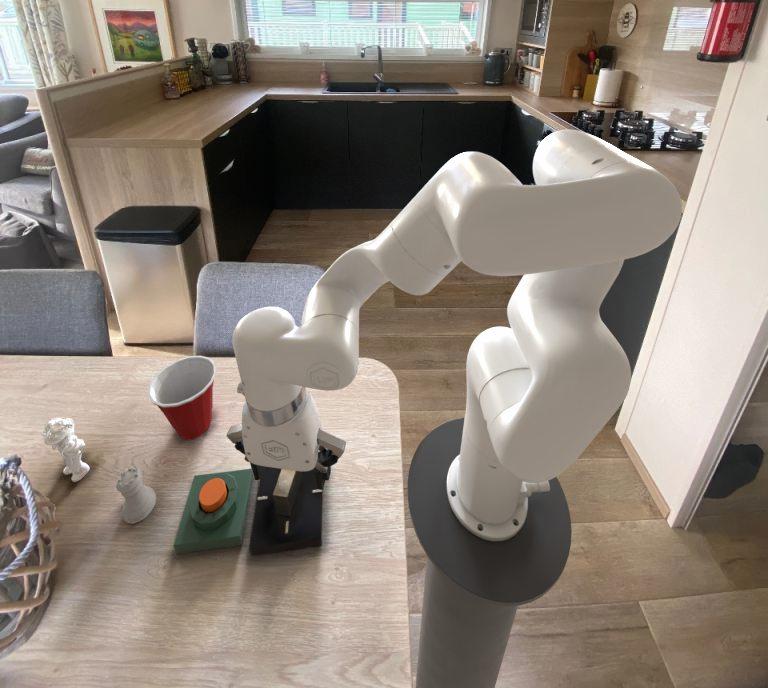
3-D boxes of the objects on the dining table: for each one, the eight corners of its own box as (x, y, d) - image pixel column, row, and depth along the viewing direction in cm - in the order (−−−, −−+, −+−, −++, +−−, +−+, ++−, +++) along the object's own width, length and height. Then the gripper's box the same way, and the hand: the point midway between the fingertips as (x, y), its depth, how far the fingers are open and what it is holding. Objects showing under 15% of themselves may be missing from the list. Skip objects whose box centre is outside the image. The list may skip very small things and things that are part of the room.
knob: (290, 517, 57) (287, 495, 55) (276, 514, 58) (272, 493, 56) (302, 476, 62) (300, 455, 60) (289, 474, 63) (286, 453, 61)
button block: (253, 476, 64) (250, 461, 63) (242, 544, 56) (238, 529, 54) (196, 483, 63) (192, 468, 62) (176, 554, 55) (170, 538, 53)
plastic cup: (228, 391, 78) (219, 346, 74) (223, 444, 69) (212, 396, 64) (169, 404, 76) (155, 359, 71) (155, 461, 66) (138, 413, 62)
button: (229, 483, 60) (227, 476, 59) (223, 510, 57) (221, 503, 56) (205, 486, 60) (203, 479, 59) (197, 514, 56) (195, 507, 56)
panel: (324, 458, 67) (323, 450, 66) (322, 546, 56) (321, 537, 55) (264, 465, 66) (263, 457, 65) (250, 556, 55) (248, 548, 54)
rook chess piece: (118, 528, 58) (103, 495, 55) (131, 494, 62) (118, 462, 59) (150, 522, 58) (137, 490, 55) (161, 489, 62) (150, 457, 59)
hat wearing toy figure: (104, 473, 64) (83, 424, 60) (77, 496, 61) (53, 447, 57) (76, 445, 69) (54, 398, 64) (50, 466, 65) (25, 418, 61)
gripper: (200, 413, 49) (225, 494, 56) (332, 430, 47) (342, 512, 53) (230, 364, 56) (249, 441, 63) (346, 376, 54) (354, 455, 60)
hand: (292, 474), depth 58 cm, fingers open, 9 cm apart
